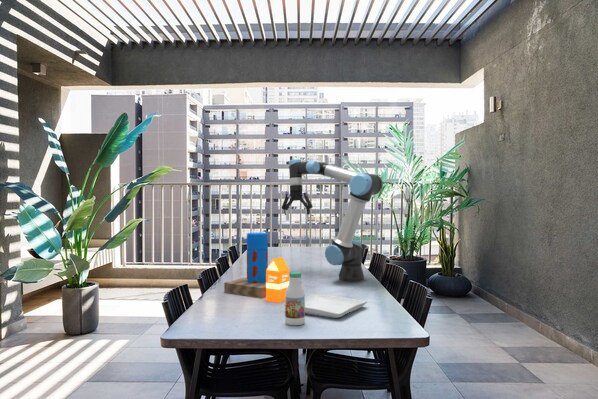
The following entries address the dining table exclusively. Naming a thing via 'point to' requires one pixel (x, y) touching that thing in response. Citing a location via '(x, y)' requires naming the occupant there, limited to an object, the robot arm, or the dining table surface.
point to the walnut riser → (245, 288)
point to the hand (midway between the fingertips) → (297, 220)
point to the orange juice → (277, 280)
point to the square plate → (331, 305)
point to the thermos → (257, 257)
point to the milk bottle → (295, 301)
